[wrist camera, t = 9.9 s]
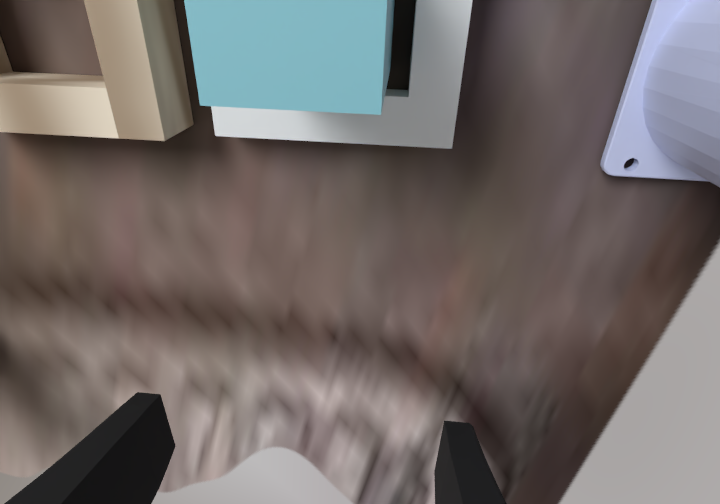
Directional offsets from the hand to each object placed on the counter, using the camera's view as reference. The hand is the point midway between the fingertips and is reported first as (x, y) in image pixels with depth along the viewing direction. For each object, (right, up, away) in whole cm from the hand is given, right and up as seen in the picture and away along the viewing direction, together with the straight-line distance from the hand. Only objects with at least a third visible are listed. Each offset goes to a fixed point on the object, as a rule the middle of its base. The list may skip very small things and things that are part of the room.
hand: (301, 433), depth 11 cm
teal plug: (+1, +13, +4) cm, 14 cm away
